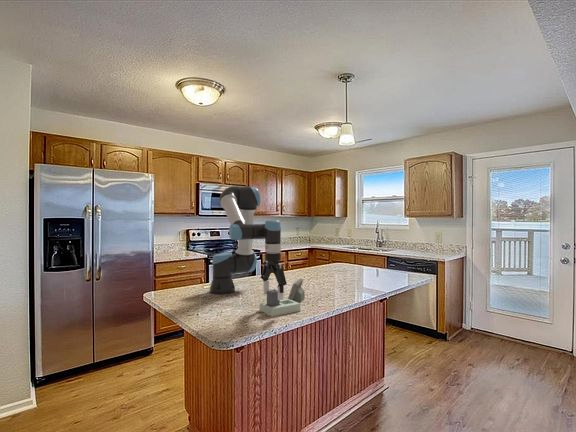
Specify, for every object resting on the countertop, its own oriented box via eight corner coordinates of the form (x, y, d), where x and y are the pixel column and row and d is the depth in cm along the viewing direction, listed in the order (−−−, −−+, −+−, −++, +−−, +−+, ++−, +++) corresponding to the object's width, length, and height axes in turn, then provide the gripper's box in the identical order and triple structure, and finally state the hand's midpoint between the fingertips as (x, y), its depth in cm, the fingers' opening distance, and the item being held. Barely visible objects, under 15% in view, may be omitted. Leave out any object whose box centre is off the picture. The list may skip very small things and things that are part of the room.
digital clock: (295, 295, 186) (294, 277, 186) (309, 297, 182) (309, 278, 182) (282, 302, 172) (281, 282, 172) (297, 304, 168) (297, 284, 168)
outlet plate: (259, 310, 158) (259, 303, 158) (286, 305, 166) (286, 298, 166) (271, 316, 148) (271, 308, 148) (300, 310, 156) (300, 303, 156)
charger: (266, 311, 156) (266, 288, 156) (274, 309, 158) (274, 287, 158) (271, 313, 152) (271, 290, 152) (279, 312, 154) (279, 289, 154)
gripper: (254, 250, 163) (254, 292, 163) (279, 255, 142) (280, 303, 142) (266, 249, 167) (267, 290, 167) (293, 254, 147) (294, 301, 146)
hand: (273, 296), depth 155 cm, fingers open, 13 cm apart
